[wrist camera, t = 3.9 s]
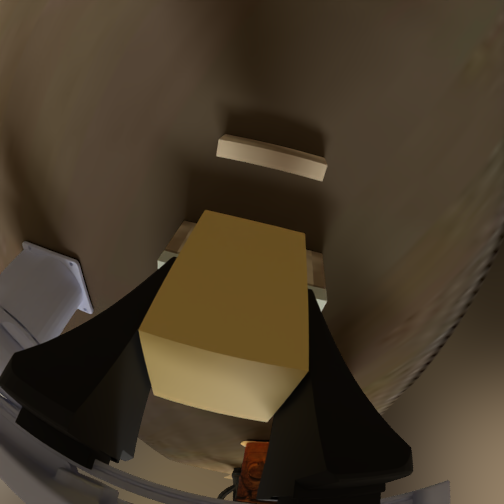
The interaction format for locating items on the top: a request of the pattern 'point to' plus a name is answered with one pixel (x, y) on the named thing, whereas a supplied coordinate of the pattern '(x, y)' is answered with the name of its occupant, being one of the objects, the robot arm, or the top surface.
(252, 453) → the vessel
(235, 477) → the beer stein
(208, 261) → the yellow block
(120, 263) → the top surface
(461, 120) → the top surface
